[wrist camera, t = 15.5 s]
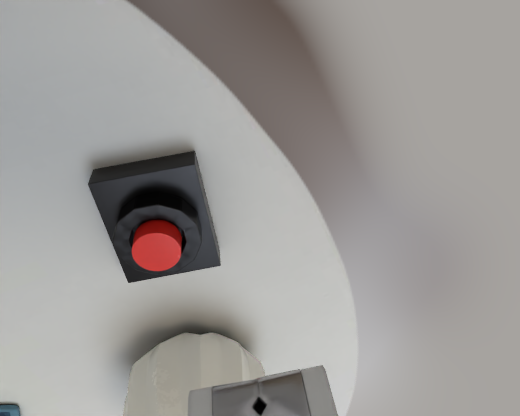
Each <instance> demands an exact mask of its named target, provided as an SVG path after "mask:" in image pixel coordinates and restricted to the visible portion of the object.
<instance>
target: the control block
mask: <svg viewBox="0 0 520 416" xmlns="http://www.w3.org/2000/svg"><path fill="white" fill-rule="evenodd" d="M88 185H89V188H90V190H91V192H92V195H93V197H94V200H95V202H96V205H97V207H98V210H99V212H100V215H101V217H102V219H103V222H104V224H105V227H106V229H107V232H108V234H109V237H110V239H111V241H112V244H113V246H114V249H115V251H116V254H117V256H118V259H119V261H120V264H121V266H122V268H123V271H124V273H125V276H126V278H127V281H128V283H131V282H136V281H141V280H147V279H152V278H157V277H163V276H168V275H173V274H179V273H184V272H189V271H194V270H200V269H205V268H210V267H216V266H220V265H221V264H220V250H219V246H218V242H217V238H216V234H215V230H214V226H213V222H212V218H211V214H210V210H209V206H208V201H207V197H206V193H205V189H204V185H203V181H202V177H201V173H200V169H199V165H198V161H197V157H196V153H195V151H193V152H187V153H182V154H176V155H171V156H165V157H160V158H155V159H149V160H144V161H138V162H133V163H127V164H122V165H117V166H111V167H106V168H100V169H95V170H93V172H92V175H91V177H90V180H89V183H88ZM150 220H165V221H168V222H170V223H172V224H173V225H175V226H176V227H177V228H178V230H179V231H180V233H181V236H182V247H181V257H180V259H179V261H178V262H177V263H176V265H174V266H173V267H171V268H169V269H167V270H163V271H151V270H147V269H145V268H143V267H141V266H139V265H138V264H137V263H136V262H135V260H134V259H133V256H132V245H133V239H134V234H135V231H136V230H137V228H138V227H139V226H140V225H141V224H143V223H145V222H147V221H150Z"/></svg>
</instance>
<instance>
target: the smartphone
mask: <svg viewBox="0 0 520 416" xmlns="http://www.w3.org/2000/svg"><path fill="white" fill-rule="evenodd" d="M0 416H20V411H19V407H18V406H17V405H0Z"/></svg>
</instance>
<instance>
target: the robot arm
mask: <svg viewBox="0 0 520 416" xmlns="http://www.w3.org/2000/svg"><path fill="white" fill-rule="evenodd" d="M188 416H338V414H337V411H336V407H335V403H334V400H333V396H332V392H331V389H330V385H329V382H328V378H327V374H326V371H325V369H324V367H323V365H321V366H316V367H311V368H307V369H302V370H301V371H300V369H298V370H293V371H288V372H283V373H279V374H274V375H269V376H264V377H259V378H257V379H253V380H247V381H241V382H236V383H230V384H224V385H218V386H211V387H206V388H201V389H195V390H190V392H189V396H188Z"/></svg>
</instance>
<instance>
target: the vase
mask: <svg viewBox="0 0 520 416" xmlns="http://www.w3.org/2000/svg"><path fill="white" fill-rule="evenodd" d="M264 376H265V373H264V369H263V366H262V364H261V362H260V361H259V360H258V359H257V358H256V357H254V356H253V355H252V354H251V353H249V352H248V351H247V350H246V349H244V348H243V347H242V346H241V345H240V344H239V343H238V342H236V341H234V340H232V339H229V338H227V337H225V336H222V335H220V334H217V333H213V332H211V333H206V334H202V335H197V334H192V333H182V334H179V335H177V336H175V337H172V338H170V339H168V340H166V341H164V342H162V343H159V344H158V345H157V346H155V347H154V348H153V349H152V350H150V351H149V352H148V353H146V354H145V355H144V356H143V357H142V358H140V359H139V360H138V361H137V362H136V363H134V364H133V366H132V369H131V372H130V375H129V382H128V393H127V396H126V399H125V405H124V412H123V416H188V396H189V392H190V390H195V389H201V388H206V387H211V386H218V385H224V384H230V383H236V382H241V381H247V380H253V379H257V378H259V377H264Z"/></svg>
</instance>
